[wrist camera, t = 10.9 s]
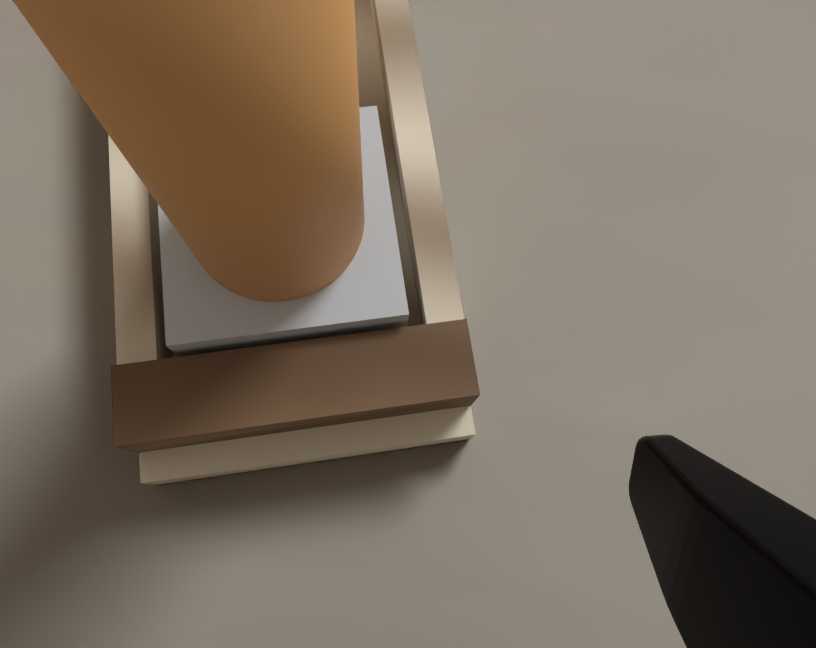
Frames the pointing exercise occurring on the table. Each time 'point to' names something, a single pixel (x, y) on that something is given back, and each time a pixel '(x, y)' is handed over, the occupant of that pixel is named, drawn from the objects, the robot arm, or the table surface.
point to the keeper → (244, 160)
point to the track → (413, 241)
